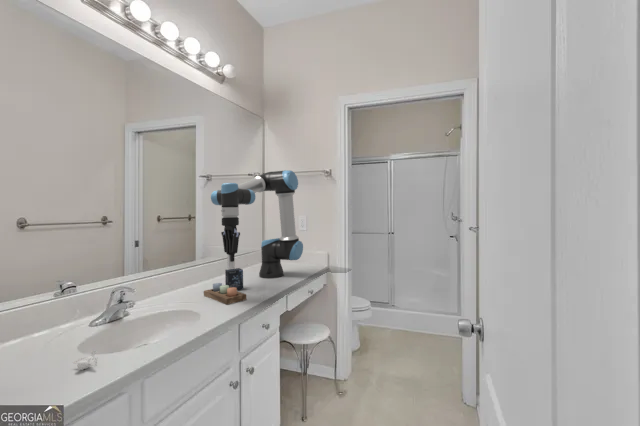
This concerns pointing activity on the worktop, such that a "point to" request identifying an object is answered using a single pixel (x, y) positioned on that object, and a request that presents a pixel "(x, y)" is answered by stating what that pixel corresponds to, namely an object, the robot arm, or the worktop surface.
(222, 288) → the plunger sage
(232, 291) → the plunger terracotta
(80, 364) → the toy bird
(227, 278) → the box
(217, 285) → the plunger slate
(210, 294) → the wooden tray
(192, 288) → the worktop surface
